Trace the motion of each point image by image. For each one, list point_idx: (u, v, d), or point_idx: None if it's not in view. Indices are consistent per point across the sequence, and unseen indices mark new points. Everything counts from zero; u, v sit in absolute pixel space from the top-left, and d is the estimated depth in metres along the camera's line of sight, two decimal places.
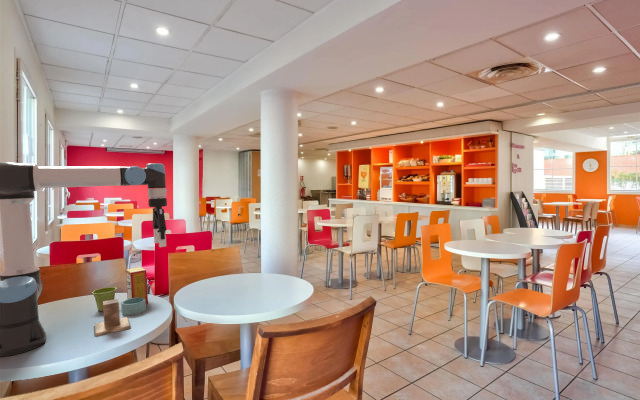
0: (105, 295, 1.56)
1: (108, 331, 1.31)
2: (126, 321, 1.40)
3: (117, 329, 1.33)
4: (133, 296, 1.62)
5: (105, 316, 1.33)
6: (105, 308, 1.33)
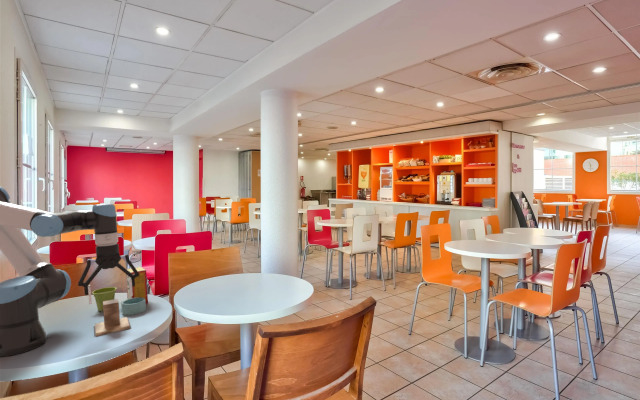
0: (105, 295, 1.56)
1: (108, 331, 1.31)
2: (126, 321, 1.40)
3: (117, 329, 1.33)
4: (133, 296, 1.62)
5: (105, 316, 1.33)
6: (105, 308, 1.33)
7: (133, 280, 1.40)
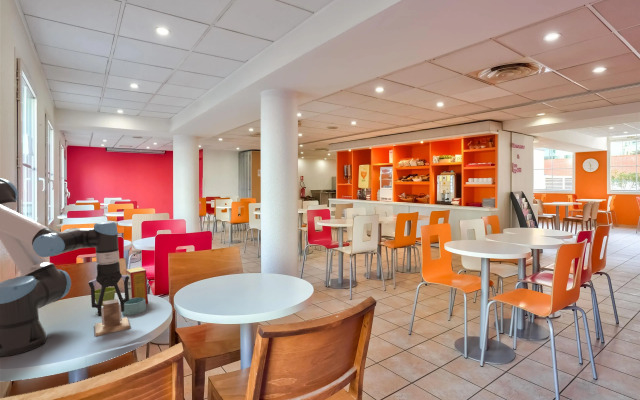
0: (105, 295, 1.56)
1: (108, 331, 1.31)
2: (126, 321, 1.40)
3: (117, 329, 1.33)
4: (133, 296, 1.62)
5: (105, 316, 1.33)
6: (105, 308, 1.33)
7: (122, 305, 1.38)
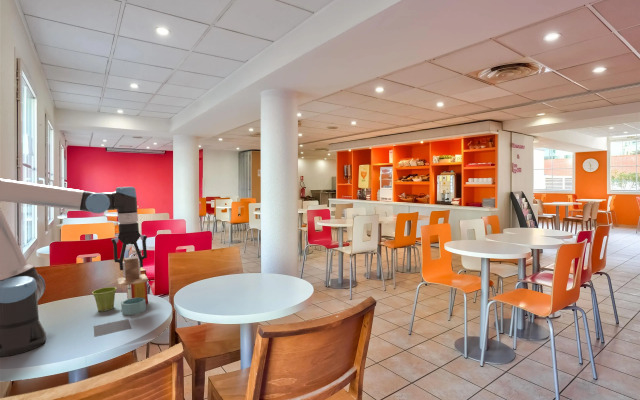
0: (105, 295, 1.56)
1: (129, 283, 1.48)
2: (144, 276, 1.56)
3: (137, 281, 1.49)
4: (133, 296, 1.62)
5: (126, 270, 1.50)
6: (126, 263, 1.49)
7: (141, 261, 1.54)
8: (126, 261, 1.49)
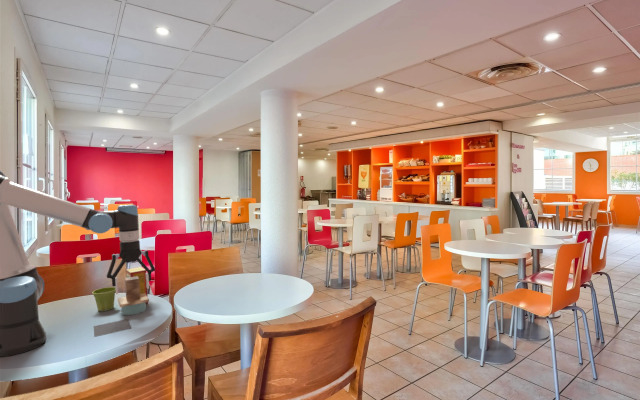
0: (105, 295, 1.56)
1: (130, 303, 1.49)
2: (145, 296, 1.57)
3: (138, 302, 1.50)
4: None
5: (127, 290, 1.50)
6: (127, 283, 1.50)
7: (149, 274, 1.57)
8: (127, 282, 1.50)
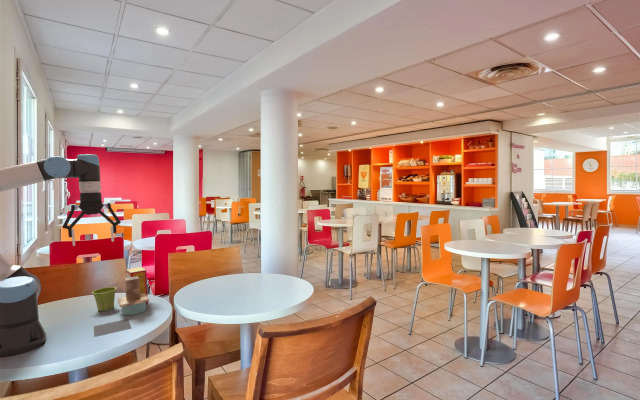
0: (105, 295, 1.56)
1: (130, 303, 1.49)
2: (145, 296, 1.57)
3: (138, 302, 1.50)
4: None
5: (127, 290, 1.50)
6: (127, 283, 1.50)
7: (114, 227, 1.51)
8: (127, 282, 1.50)
